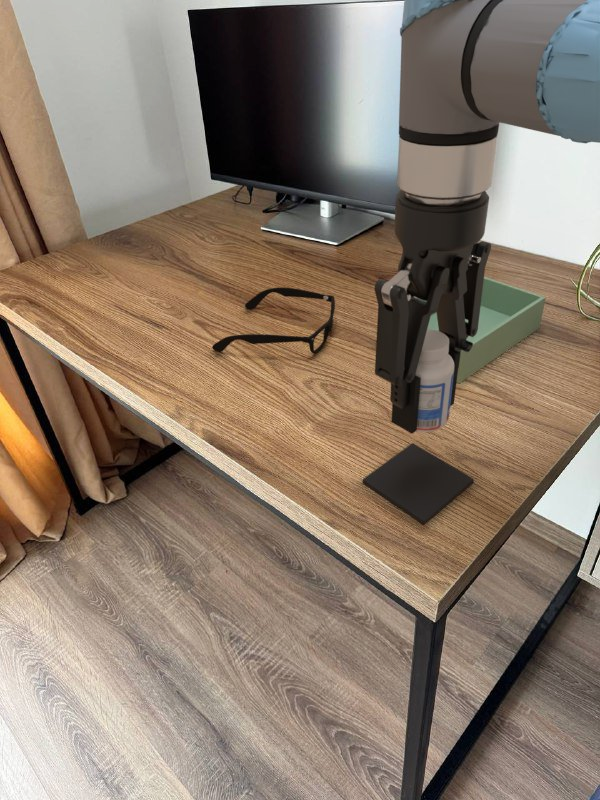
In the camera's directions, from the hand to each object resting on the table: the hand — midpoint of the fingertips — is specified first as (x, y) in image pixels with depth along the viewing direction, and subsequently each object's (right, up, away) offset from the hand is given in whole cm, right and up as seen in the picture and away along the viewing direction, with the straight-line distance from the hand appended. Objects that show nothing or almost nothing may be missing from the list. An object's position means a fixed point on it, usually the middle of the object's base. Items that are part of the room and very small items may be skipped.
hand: (423, 412), depth 62 cm
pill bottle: (0, -1, +1) cm, 1 cm away
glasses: (-16, +12, +35) cm, 41 cm away
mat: (+1, -8, +6) cm, 10 cm away
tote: (+12, +11, +31) cm, 36 cm away
